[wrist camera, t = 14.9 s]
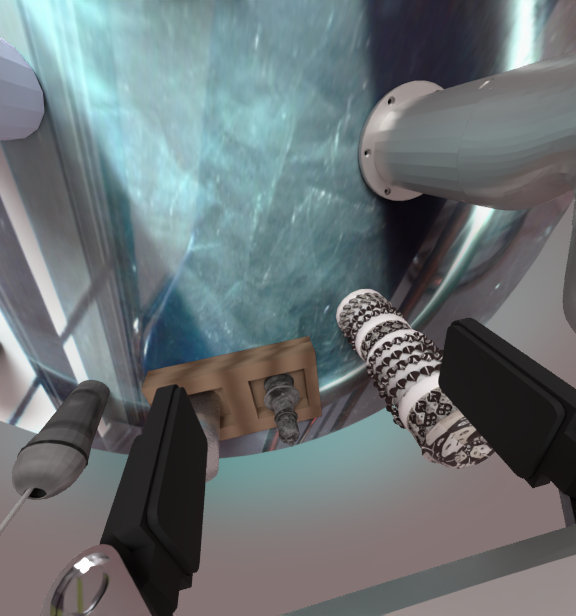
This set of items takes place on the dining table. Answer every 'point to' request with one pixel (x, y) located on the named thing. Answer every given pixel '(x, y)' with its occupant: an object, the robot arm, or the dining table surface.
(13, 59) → the soap bottle
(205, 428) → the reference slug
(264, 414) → the compartment tray
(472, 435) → the decorative candle
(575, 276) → the robot arm
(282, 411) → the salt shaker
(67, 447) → the beverage cup
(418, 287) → the dining table surface
